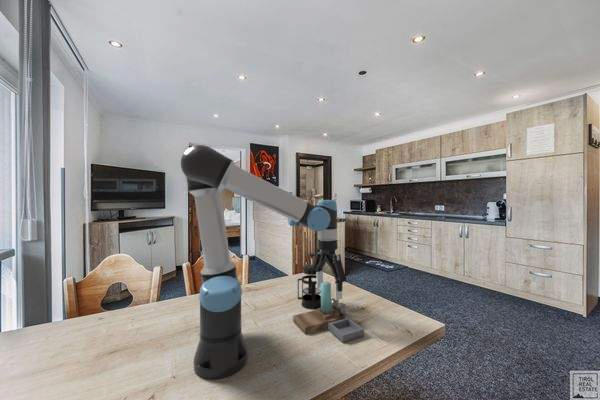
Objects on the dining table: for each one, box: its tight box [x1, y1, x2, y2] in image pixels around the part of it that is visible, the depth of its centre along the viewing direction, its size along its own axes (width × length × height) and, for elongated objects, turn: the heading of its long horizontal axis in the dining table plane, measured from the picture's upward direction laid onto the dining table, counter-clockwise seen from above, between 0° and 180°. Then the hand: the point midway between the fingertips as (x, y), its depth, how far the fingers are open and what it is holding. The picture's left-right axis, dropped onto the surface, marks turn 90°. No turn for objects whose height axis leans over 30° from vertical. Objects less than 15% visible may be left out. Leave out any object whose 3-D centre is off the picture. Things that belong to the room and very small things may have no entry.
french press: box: [297, 252, 321, 310], centre depth 112 cm, size 12×9×23 cm
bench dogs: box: [331, 297, 347, 319], centre depth 100 cm, size 3×8×6 cm, turn 26°
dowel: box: [320, 281, 332, 315], centre depth 97 cm, size 4×4×12 cm
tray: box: [327, 317, 365, 344], centre depth 88 cm, size 9×9×2 cm
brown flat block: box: [292, 307, 342, 335], centre depth 96 cm, size 16×10×4 cm, turn 116°
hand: (328, 292), depth 98 cm, fingers open, 13 cm apart
